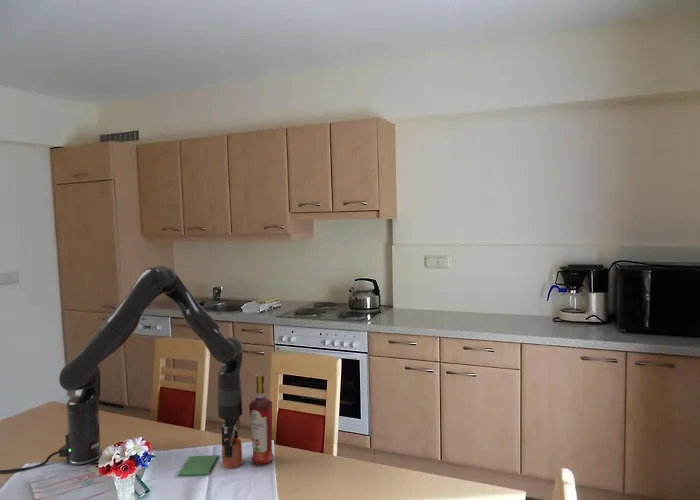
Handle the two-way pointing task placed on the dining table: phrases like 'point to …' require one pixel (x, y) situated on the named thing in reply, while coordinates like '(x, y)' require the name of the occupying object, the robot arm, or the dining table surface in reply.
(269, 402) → the liquor
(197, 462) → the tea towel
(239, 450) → the flower pot
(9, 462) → the dining table surface
